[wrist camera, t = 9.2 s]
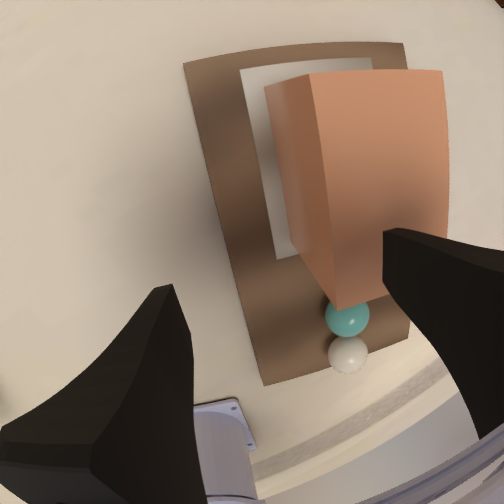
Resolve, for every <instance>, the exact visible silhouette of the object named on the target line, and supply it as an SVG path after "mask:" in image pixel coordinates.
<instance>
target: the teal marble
mask: <svg viewBox="0 0 504 504" xmlns="http://www.w3.org/2000/svg"><path fill="white" fill-rule="evenodd" d="M369 317H370V311H369V307H368V304H367V303H366V302H364V303H361V304H358V305H355V306H352V307H349V308H345V309H342V310H339V311H337V310H336V309H335V307H334V306H333V304H332V303H331V301H330V302H329V303H328V305H327V307H326V311H325V320H326V323H327V326H328V327H329V329H330V330H331V331H332V332H333V333H334V334H336V335H338V336H341V337H353V336H355V335H357V334H359V333H360V332H362V331H363V330H364V329H365V327H366V326H367V324H368V321H369Z"/></svg>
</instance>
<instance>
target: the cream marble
mask: <svg viewBox="0 0 504 504" xmlns="http://www.w3.org/2000/svg"><path fill="white" fill-rule="evenodd" d="M367 357H368V349H367V346H366V344H365V342H364V341H363V340H362V339H361V338H360V337H358V336H357V335H355V336H353V337H341V336H339V337H337V338H336V339H334V340H333V342H332V343H331V344H330V346H329V349H328V361H329V363H330V365H331V366H332V368H333V369H334V370H336V371H337V372H339V373H343V374H351V373H354V372H357V371H358V370H360V369H361V368H362V367H363V366H364V364H365V363H366V360H367Z"/></svg>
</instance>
